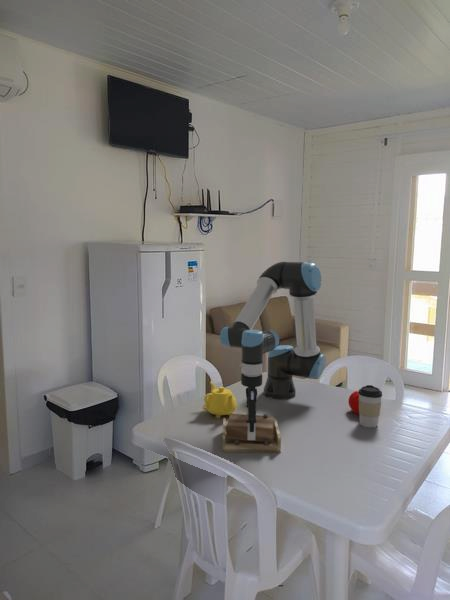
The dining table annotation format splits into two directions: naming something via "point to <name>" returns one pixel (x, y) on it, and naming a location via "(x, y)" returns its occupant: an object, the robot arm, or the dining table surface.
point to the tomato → (354, 402)
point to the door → (240, 427)
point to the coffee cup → (369, 405)
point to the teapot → (220, 401)
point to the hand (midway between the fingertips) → (250, 432)
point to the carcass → (252, 442)
